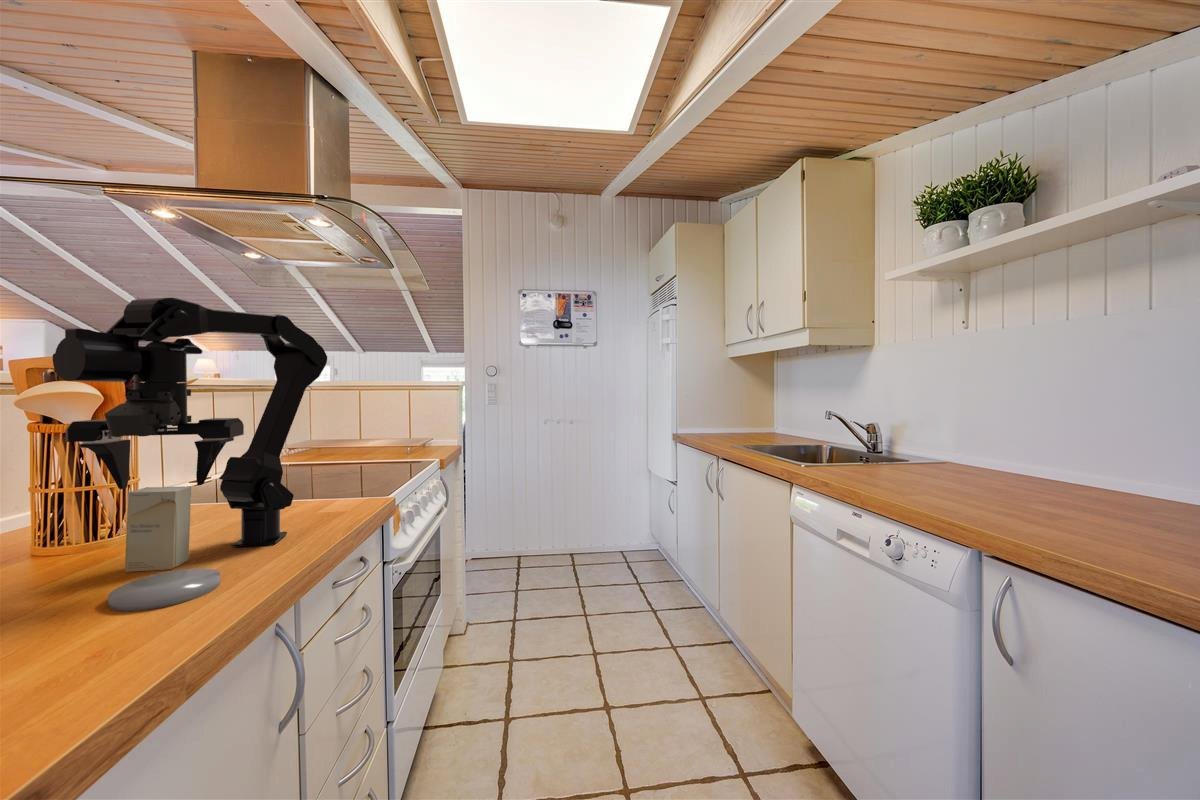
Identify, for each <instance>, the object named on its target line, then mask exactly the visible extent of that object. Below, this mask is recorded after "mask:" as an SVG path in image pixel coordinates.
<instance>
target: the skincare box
mask: <svg viewBox="0 0 1200 800" xmlns="http://www.w3.org/2000/svg"><path fill="white" fill-rule="evenodd" d="M191 502H192V486H191V485H190V486H154V487H153V486H152V487H151V486H149V487H148V486H147V487H143V488H142V487H141V488H139V489H136V490H132V491H128V494H127V510H126V511H127V513H126V514H127V515H126V537H125V538H126V539H125V561H124V562H125V563H124V565H125V566H124V572H125V573H127V572H128V573H129V572H149V571H166V570H167V571H168V570H173V569H175V568H177V567H178V566H180V565H182V564H184V563H186V562H188V561H189V560H190V558H189V557H190V529H191V528H190V526H191Z"/></svg>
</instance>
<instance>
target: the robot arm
mask: <svg viewBox="0 0 1200 800" xmlns="http://www.w3.org/2000/svg"><path fill="white" fill-rule="evenodd" d="M64 332H65V333H64V334H65V335H64V338H63V339H62V340H60V341H59V343H58V345H57V347H56V348H55V353H53V354H52V365H53V368H54V371H55V373H56V375H57V376H58V377H59V378H60V379H62V380H63V381H65V382H66V381H67V382H98V383H99V382H100V383H101V382H102V383H104V382H105V383H107V382H108V383H111V382H112V383H115V382H116V383H125V382H128V381H130V380H132V378H133V388H131V389H129V388H128V389H127V393H126V399H125V402H123V403H120V404H118V405H116V406H114V407H113V408H111V409H109V410H108V411H106V412H105V413H104V419H87V420H75V421H72V422H70V424H69V425H68V426H67V428H66V429H65V442H66V443H78V444H77V445H78V447H79V448H81V449H88V450H90V451H92V452H93V453H95V454H96V455H98V457H99V458H100V460H101V461H102V462H103V463H104V465H105V466H106V469H107V470H108V472H109V474H110V475H111V477H112V479H113V481H114V483H115V484H116V486H117V489H119V490H124V489H126V488H128V484H129V478H130V462H131V458H130V457H131V439H130V438H129V439H128V438H127V439H121V438H122V437H133V436H134V437H135V436H136V437H148V436H173V435H174V436H178V435H179V436H181V435H182V436H183V435H184V436H185V435H186V436H187V435H189V436H190V435H196V436H198V437H200V438H201V439H200V440H197V441H194V445H195V448H196V450H197V459H196V460H197V461H196V475H195V477H196V484H197V486H201V485H204V483H205V482H206V480H207V478H208V476H209V473H210V471H211V469H212V468H213V466H214V463H215V461H216V460H217V458H218V455H219V454H220V452H221V451H222V449H223V448H224V447H225V445H226V444H227V443H228V442H233V441H234V440H235V437H236V438H237V437H239V436H243V435H244V433H245V432H244V431H245V430H244V429H245V428H244V427H245V426H244V423H243V421H242V420H241V419H240V418H239V417H211V418H207V419H206V418H204V419H199V420H198V421H197V422H192V415H188V397H191V396H192V389H188V383H187V382H188V378H187V377H188V374H187V373H188V368H187V367H188V366H187V361H188V360H187V355H201V354H203V350H202V349H201V348H200V347H199V346H198V345H195V344H194V343H193V342H192V341H191V339H189V338H179V337H188V336H195V335H201V334H202V335H203V334H207V333H216V334H236V335H237V334H238V335H239V334H241V335H259V336H260V337H261V338H262V339H263V342H264V344H265V348H266V350H267V352H268V353H270V354H271V355H272V357H274V358H275V359H274V363H273V370H274V375H275V377H276V382H275V384H274V387H273V389H272V392H271V394H270V396H269V398H268V401H267V403H266V406H265V408H264V411H263V414H262V415H261V419H260V420H259V423H258V425H257V428H256V429H255V432H254V434H253V437H252V439H251V442H250V445H249V448H248V449H247V450H246V451H245V452H244V453H243V454H242V455H241V456H240V457H239V456H230V457H229V459H228V460H227V461H226V466H225V469H224V471H223V473H222V474H221V475H220V477H219V478H218V479H219V480H221V483H220V486H219V487H220V488H219V491H220V492H221V493H222V495H223V497H224V498H225V499H226V500H227V503H228V506H229V508H230V509H231V510H233V509H234V510H235V509H237V510H240V511H241V515H240V516H241V525H240V526H241V528H240V533H241V535H240V536H241V538H239V539H238V540H237V541H235V542H234V543H232V547H233V548H237V547H238V548H239V547H253V546H267V545H274V544H277V543H278V542H279V541H281V540H282V539H283V538H284V537H286V536H287V535H286V534H288V531H281V510H284V509H286V508H288V507H291V506H292V503H293V499H294V497H295V496H294V494H293V492H291V490H289V489H288V488H287V487H286V486H285V485H283V484H282V478H283V475H284V471H283V466H282V461H281V457H280V456H281V454H282V451H283V449H284V445H285V443H286V441H287V437H288V435H289V433H290V431H291V427H292V425H293V423H294V420H295V417H296V414H297V413H298V411H299V410H298V409H299V408H300V405H301V402H302V399H303V396H304V394H305V392H306V389H307V388H308V387H309V386H311V384H312V383H314V382H315V381H316V380H317V379H318V378H319V377H320V376H321V374H322V372H323V371H324V369H325V367H326V365H327V363H328V355H327V353H326V351H325V349H324V347H322V345H320V344H319V343H318V342H317V340H315V338H314V337H313V336H311V334H309V333H307V332H305V331H304V330H302V329H301V328H299V327H298V326H296V325H295V324H294V323H293V321H291V319H290V318H289V317H288V316H285V315H283V314H279V313H278V314H277V313H276V314H267V313H266V314H265V313H257V312H255V313H253V312H243V311H242V312H241V311H235V310H234V311H232V310H222V309H213V308H208V307H205V306H203V305H201V304H199V303H197V302H196V303H195V302H192V301H189V300H184V299H181V298H178V297H159V298H158V297H157V298H156V297H155V298H153V297H152V298H137V299H132V300H131V301H130V302H129V303H127V304H126V305H125V308H124V310H123V315H122V316H121V317H120V318H119V319H118V320H117V321H116V322H115V323H114V324H113V325H112V326H111V327H109V329H108V330H107V331H105V332H100V331H95V330H92V329H86V328H79V327H78V328H65V330H64ZM168 338H177V339H175V340H174V341H165V340H166V339H168ZM285 341H286V342H288V343H285ZM140 342H148V343H147V344H146V345H145V346H143V345H142V346H141V345H140V344H139V343H140ZM171 426H172V427H171ZM79 442H80V443H79ZM282 537H283V538H282ZM281 538H282V539H281Z"/></svg>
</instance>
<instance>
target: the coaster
mask: <svg viewBox="0 0 1200 800" xmlns="http://www.w3.org/2000/svg"><path fill="white" fill-rule="evenodd" d="M220 584H221V573H220V571H219V570H217V569H212V568H202V567H200V568H187V569H179V570H178V569H177V570H173V571H172V570H171V571H167V572H161V573H157V574H152V575H148V576H145V577H142V578H138V579H137V578H136V579H135V580H132V581H129V582H127V583H123V584H122V585H119V586H118V587H116V588H115V589H112V590H111V591H110V592H109V593H108V595H107V607H108V609H110V610H113V611H116V612H139V611H141V612H143V611H149V610H154V609H161V608H165V607H169V606H174V605H177V604H181V603H184V602H185V603H186V602H189V601H192V600H194V599H198V598H199V597H201V596H204V595H206V594H208V593H210V592H212V591H214V590H215V589H217V588H218V586H219V585H220Z"/></svg>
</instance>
